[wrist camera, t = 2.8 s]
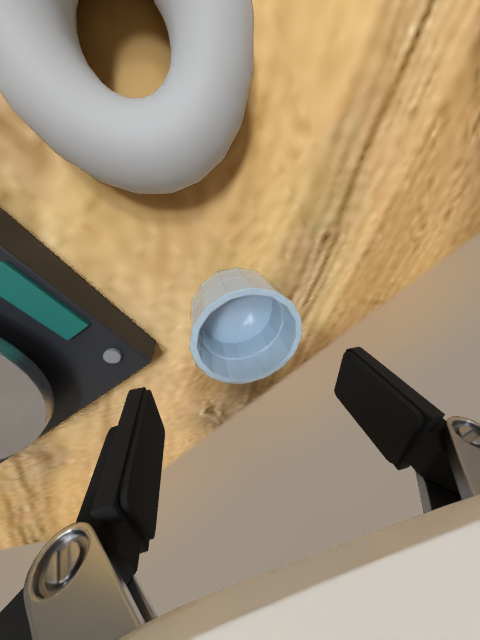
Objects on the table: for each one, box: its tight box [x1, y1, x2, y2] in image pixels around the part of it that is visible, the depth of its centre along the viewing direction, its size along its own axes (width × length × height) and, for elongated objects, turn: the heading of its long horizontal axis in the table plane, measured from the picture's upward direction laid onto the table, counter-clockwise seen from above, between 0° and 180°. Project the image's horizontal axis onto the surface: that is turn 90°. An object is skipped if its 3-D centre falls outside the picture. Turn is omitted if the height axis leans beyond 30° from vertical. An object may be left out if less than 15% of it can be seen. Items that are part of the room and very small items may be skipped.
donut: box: [0, 0, 254, 194], centre depth 8 cm, size 10×3×10 cm
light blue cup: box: [190, 268, 302, 383], centre depth 14 cm, size 7×7×4 cm
